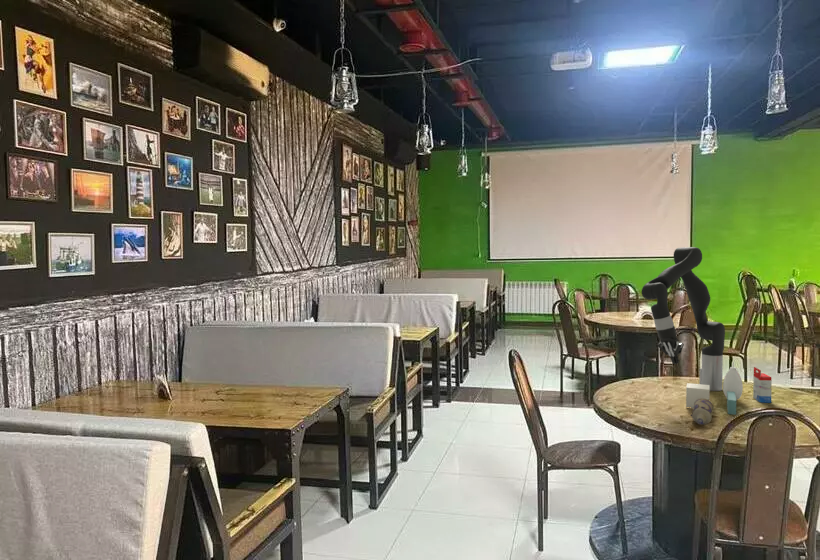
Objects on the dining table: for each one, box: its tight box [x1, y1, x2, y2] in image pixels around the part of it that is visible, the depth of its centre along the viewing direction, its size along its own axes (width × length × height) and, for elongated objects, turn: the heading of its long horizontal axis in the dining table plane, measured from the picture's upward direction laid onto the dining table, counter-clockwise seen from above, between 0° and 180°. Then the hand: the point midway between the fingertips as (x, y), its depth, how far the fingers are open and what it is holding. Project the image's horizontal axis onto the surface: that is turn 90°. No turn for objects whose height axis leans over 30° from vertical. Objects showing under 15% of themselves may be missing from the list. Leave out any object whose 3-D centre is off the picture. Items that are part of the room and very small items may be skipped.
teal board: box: [726, 391, 737, 416], centre depth 251 cm, size 3×16×6 cm, turn 153°
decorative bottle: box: [690, 398, 714, 425], centre depth 235 cm, size 26×8×7 cm, turn 150°
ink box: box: [752, 366, 773, 404], centre depth 265 cm, size 8×5×15 cm, turn 168°
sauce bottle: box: [722, 361, 744, 402], centre depth 264 cm, size 8×8×18 cm
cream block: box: [685, 382, 711, 409], centre depth 257 cm, size 9×9×9 cm
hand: (676, 363), depth 259 cm, fingers closed
